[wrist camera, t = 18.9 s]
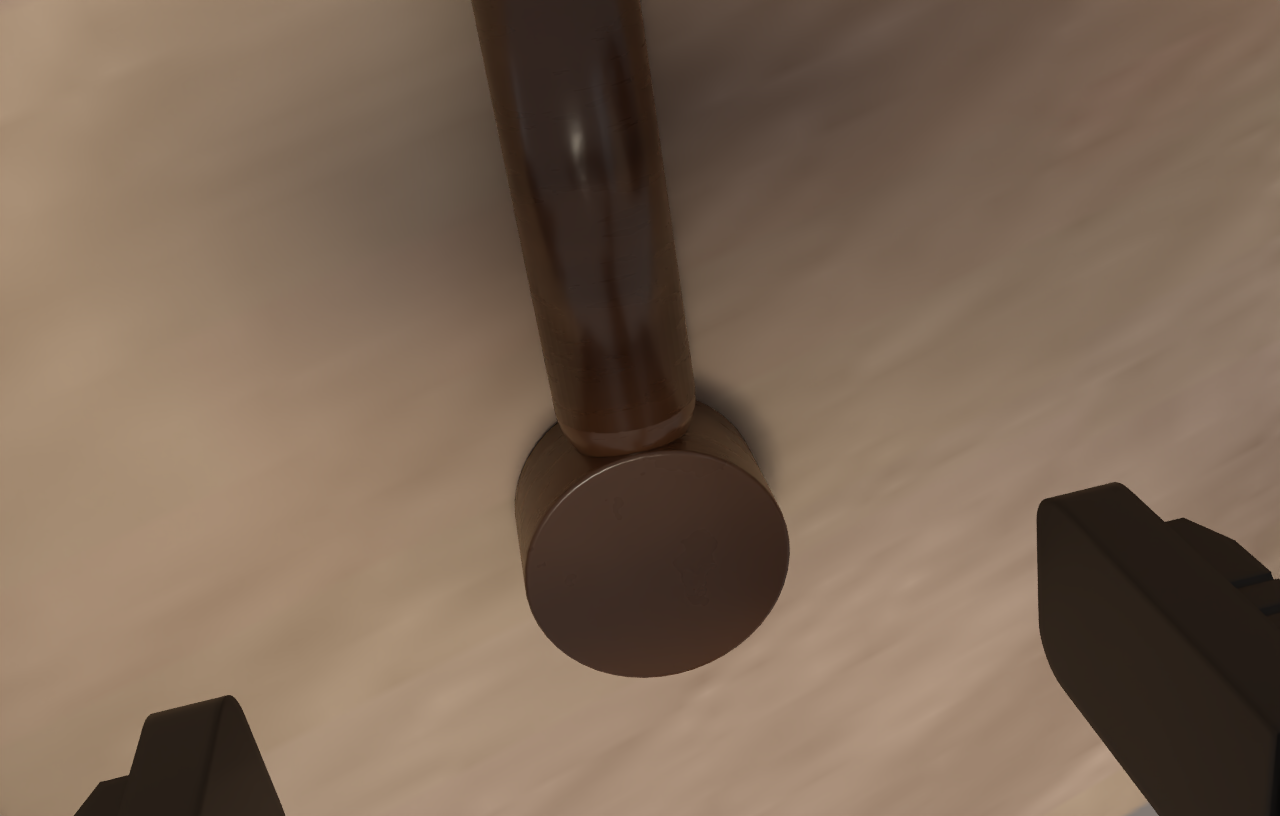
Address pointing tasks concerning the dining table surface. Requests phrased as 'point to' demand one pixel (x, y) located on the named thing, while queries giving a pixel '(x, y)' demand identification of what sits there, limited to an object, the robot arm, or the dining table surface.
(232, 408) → the dining table surface
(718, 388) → the dining table surface
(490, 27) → the rod with round cap
